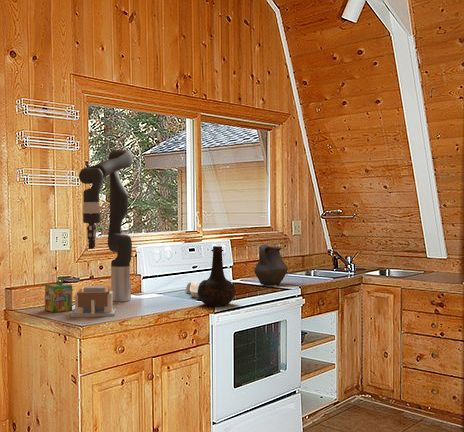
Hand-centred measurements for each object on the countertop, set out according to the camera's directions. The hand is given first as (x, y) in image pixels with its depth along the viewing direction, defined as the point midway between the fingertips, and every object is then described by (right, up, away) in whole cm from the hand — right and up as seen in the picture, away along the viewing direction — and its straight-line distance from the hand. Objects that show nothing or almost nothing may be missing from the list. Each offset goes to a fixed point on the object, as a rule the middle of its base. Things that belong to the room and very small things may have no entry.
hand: (91, 248), depth 255 cm
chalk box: (-14, -28, -2) cm, 32 cm away
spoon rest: (+45, -28, +44) cm, 69 cm away
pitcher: (+87, -28, +88) cm, 127 cm away
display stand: (+4, -28, -11) cm, 30 cm away
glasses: (+3, -24, -10) cm, 26 cm away
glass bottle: (+56, -28, +13) cm, 64 cm away
